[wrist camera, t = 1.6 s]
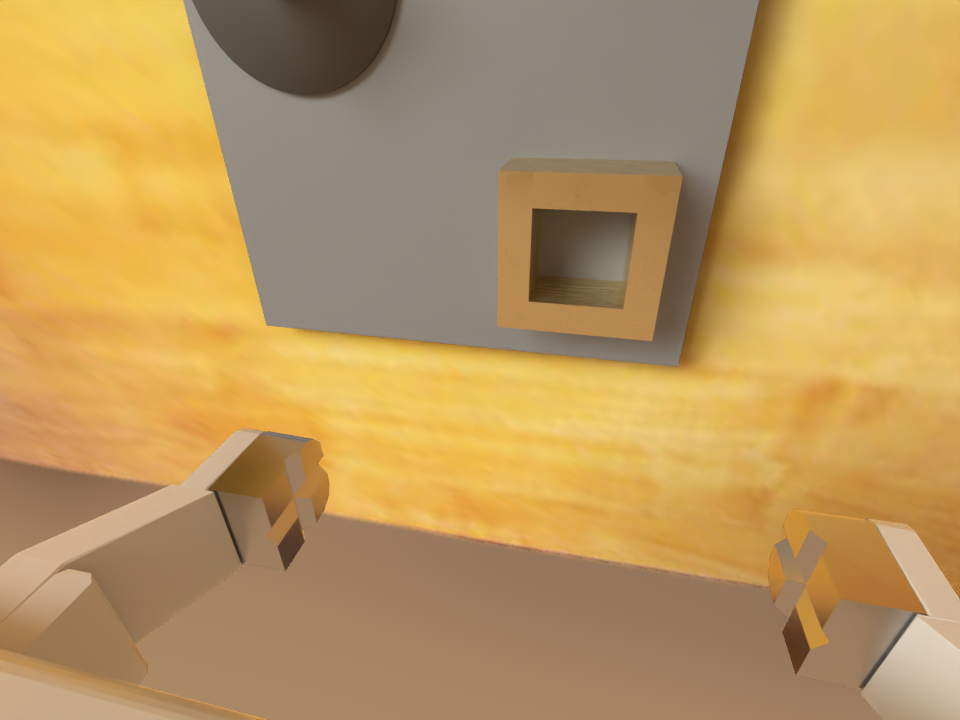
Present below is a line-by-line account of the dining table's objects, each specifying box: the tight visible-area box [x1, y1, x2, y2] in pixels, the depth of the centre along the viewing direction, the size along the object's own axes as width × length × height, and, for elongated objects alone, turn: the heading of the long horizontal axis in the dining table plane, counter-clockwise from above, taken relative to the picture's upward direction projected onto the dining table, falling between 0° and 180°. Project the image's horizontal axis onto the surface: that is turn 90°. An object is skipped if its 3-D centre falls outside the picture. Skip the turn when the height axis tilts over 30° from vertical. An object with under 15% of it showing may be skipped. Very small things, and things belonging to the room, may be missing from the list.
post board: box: [183, 0, 759, 367], centre depth 19 cm, size 22×22×8 cm
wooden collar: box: [497, 157, 683, 341], centre depth 21 cm, size 6×6×3 cm
